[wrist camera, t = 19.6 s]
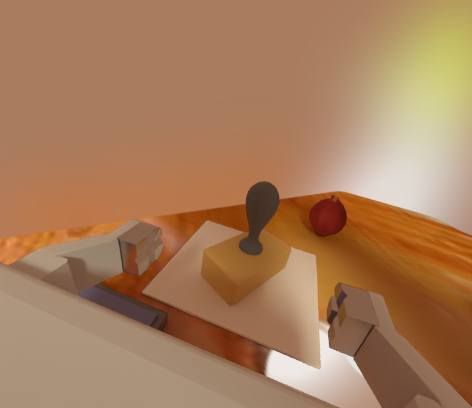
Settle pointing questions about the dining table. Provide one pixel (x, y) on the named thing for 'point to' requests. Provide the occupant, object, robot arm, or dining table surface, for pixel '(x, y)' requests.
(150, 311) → the ink pad
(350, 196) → the dining table surface
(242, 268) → the rubber stamp
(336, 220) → the onion
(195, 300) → the paper
